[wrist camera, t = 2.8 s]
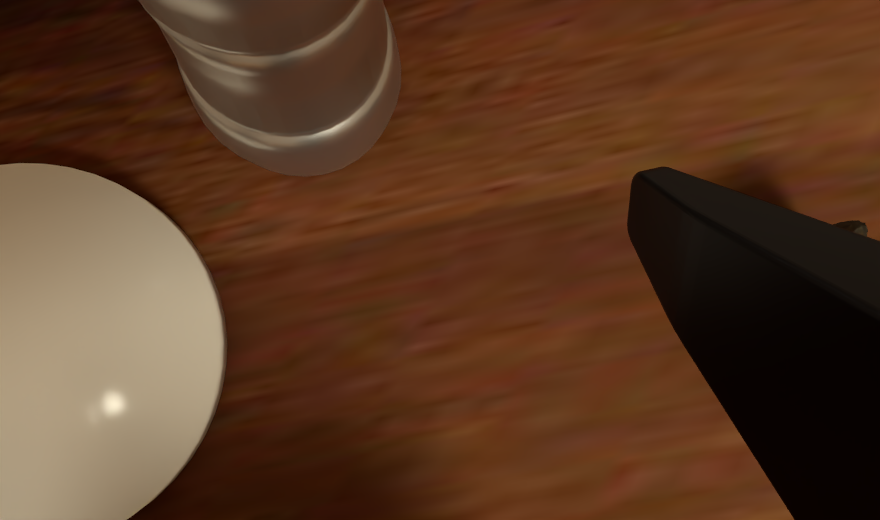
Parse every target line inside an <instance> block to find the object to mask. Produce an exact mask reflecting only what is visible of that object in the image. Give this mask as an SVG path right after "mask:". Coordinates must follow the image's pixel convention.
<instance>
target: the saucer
mask: <svg viewBox="0 0 880 520" xmlns="http://www.w3.org/2000/svg"><path fill="white" fill-rule="evenodd" d="M226 366H227V333H226V322H225V316H224V311H223V307H222V303H221V299H220V295H219V292H218V289H217V287H216V284H215V282H214V279H213V276H212V274H211V272H210V270H209V268H208V266H207V265H206V263H205V261H204V259H203V257H202V256H201V254H200V252H199V251H198V249H197V248H196V247H195V245H194V244H193V243H192V241H191V240H190V239H189V237H188V236H187V235H186V234H185V233H184V231H183V230H182V229H181V228H180V227H179V226H178V225H177V224H176V223H175V222H174V221H173V220H172V219H171V218H170V217H169V216H167V215H166V214H165V213H163V212H162V211H161V210H160V209H158V208H157V207H156V206H154V205H153V204H152V203H150V202H149V201H147V200H145V199H143V198H142V197H140V196H138V195H137V194H135V193H133V192H131V191H130V190H128V189H126V188H124V187H123V186H121V185H119V184H117V183H115V182H112V181H110V180H108V179H105V178H103V177H100V176H98V175H96V174H92V173H89V172H85V171H81V170H78V169H74V168H71V167H64V166H57V165H50V164H35V163H15V164H5V165H0V520H127V519H129V518H130V517H131V516H133V515H134V514H135V513H137V512H138V511H139V510H141V509H142V508H143V507H145V506H146V505H147V504H149V503H150V502H151V501H153V500H154V499H155V498H156V497H157V496H158V495H159V494H160V493H162V492H163V491H164V490H165V489H166V488H167V487H168V486H169V485H170V484H171V483H172V482H173V481H174V480H175V479H176V477H177V476H178V475H179V474H180V472H181V471H182V470H183V469H184V467H185V466H186V465H187V464H188V462H189V461H190V460H191V459H192V457H193V455H194V454H195V452H196V450H197V449H198V447H199V446H200V444H201V442H202V441H203V439H204V437H205V435H206V433H207V431H208V429H209V426H210V424H211V422H212V420H213V418H214V415H215V413H216V409H217V406H218V403H219V400H220V396H221V393H222V390H223V384H224V378H225V372H226Z"/></svg>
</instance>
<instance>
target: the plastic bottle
mask: <svg viewBox="0 0 880 520" xmlns="http://www.w3.org/2000/svg"><path fill="white" fill-rule="evenodd" d="M138 1H139V2H140V3H141V4H142V6H143V7H144V9H145V10H146V11H147V12H148V13H149V14H150V15H151V17H152V18H153V19H154V20H155V21H156V22H157V24H158V26H159V27H160V29H161V31H162V33H163V35H164V37H165V39H166V40H167V42H168V44H169V46H170V48H171V50H172V51H173V53H174V55H175V57H176V59H177V63H178V67H179V71H180V73H181V76H182V79H183V82H184V84H185V87H186V90H187V92H188V94H189V97H190V99H191V101H192V103H193V105H194V108H195V109H196V111H197V113H198V114H199V116H200V118H201V119H202V121H203V123H204V124H205V126H206V127H207V128H208V129H209V130H210V132H211V133H212V134H213V135H214V136H215V137H216V138H217V139H218V140H219V141H220V142H221V143H222V144H223V145H224V146H226V147H227V148H228V149H230V150H231V151H233V152H234V153H235V154H237V155H238V156H240V157H242V158H244V159H246V160H248V161H250V162H252V163H254V164H256V165H258V166H261V167H263V168H265V169H267V170H270V171H273V172H277V173H281V174H285V175H292V176H315V175H323V174H327V173H330V172H333V171H336V170H339V169H342V168H344V167H346V166H348V165H349V164H351V163H353V162H355V161H356V160H358V159H359V158H360V157H362V156H363V155H364V154H365V153H366V152H367V151H368V150H369V149H371V148H372V146H373V145H374V144H375V142H376V141H377V140H378V138H379V137H380V136H381V134H382V133H383V131H384V129H385V128H386V126H387V124H388V122H389V120H390V118H391V116H392V114H393V111H394V109H395V107H396V105H397V100H398V96H399V92H400V87H401V62H400V57H399V51H398V46H397V42H396V38H395V34H394V29H393V26H392V23H391V21H390V18H389V16H388V13H387V11H386V8H385V6H384V4H383V0H138Z"/></svg>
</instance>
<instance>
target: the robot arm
mask: <svg viewBox="0 0 880 520" xmlns="http://www.w3.org/2000/svg"><path fill="white" fill-rule="evenodd" d="M627 226H628V233H629V237H630V240H631V242H632V244H633V246H634V248H635V250H636V252H637V254H638V257H639V259H640V261H641V263H642V265H643V267H644V269H645V271H646V273H647V275H648V277H649V279H650V282H651V284H652V286H653V288H654V290H655V292H656V294H657V296H658V298H659V300H660V302H661V305H662V307H663V309H664V311H665V313H666V315H667V317H668V319H669V321H670V323H671V325H672V326H673V328H674V330H675V332H676V333H677V335H678V337H679V338H680V340H681V342H682V343H683V345H684V347H685V348H686V350H687V351H688V353H689V354H690V356H691V358H692V359H693V361H694V362H695V364H696V365H697V367H698V369H699V370H700V372H701V373H702V375H703V376H704V378H705V380H706V381H707V383H708V384H709V386H710V387H711V389H712V391H713V392H714V394H715V395H716V397H717V398H718V400H719V402H720V403H721V405H722V406H723V408H724V409H725V411H726V413H727V414H728V416H729V417H730V419H731V421H732V422H733V424H734V425H735V427H736V428H737V430H738V432H739V433H740V435H741V436H742V438H743V439H744V441H745V443H746V444H747V446H748V447H749V449H750V450H751V452H752V454H753V455H754V457H755V458H756V460H757V461H758V463H759V465H760V466H761V468H762V469H763V471H764V472H765V474H766V476H767V477H768V479H769V480H770V482H771V483H772V485H773V487H774V488H775V490H776V491H777V493H778V494H779V496H780V498H781V499H782V501H783V502H784V504H785V505H786V507H787V509H788V510H789V512H790V513H791V515H792V516H793V518H794V520H880V241H877V240H875V239H872V238H869V237H866V236H863V235H860V234H857V233H855V232H852V231H849V230H846V229H843V228H840V227H837V226H834V225H832V224H829V223H826V222H823V221H820V220H817V219H814V218H812V217H809V216H806V215H803V214H800V213H797V212H794V211H792V210H789V209H786V208H783V207H780V206H777V205H774V204H772V203H769V202H766V201H763V200H760V199H757V198H754V197H752V196H749V195H746V194H743V193H740V192H737V191H734V190H732V189H729V188H726V187H723V186H720V185H717V184H714V183H712V182H709V181H706V180H703V179H700V178H697V177H694V176H692V175H689V174H686V173H683V172H680V171H677V170H674V169H672V168H669V167H658V168H654V169H649V170H645V171H640V172H638V173H637V174H636V175H635V176H634V177H633V179H632V183H631V192H630V201H629V211H628V221H627Z"/></svg>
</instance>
